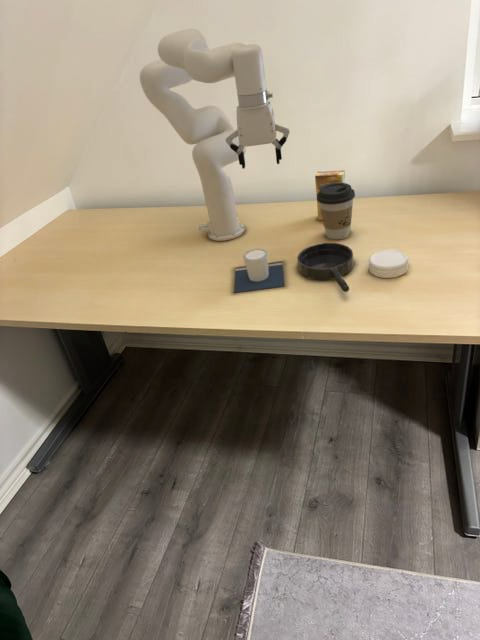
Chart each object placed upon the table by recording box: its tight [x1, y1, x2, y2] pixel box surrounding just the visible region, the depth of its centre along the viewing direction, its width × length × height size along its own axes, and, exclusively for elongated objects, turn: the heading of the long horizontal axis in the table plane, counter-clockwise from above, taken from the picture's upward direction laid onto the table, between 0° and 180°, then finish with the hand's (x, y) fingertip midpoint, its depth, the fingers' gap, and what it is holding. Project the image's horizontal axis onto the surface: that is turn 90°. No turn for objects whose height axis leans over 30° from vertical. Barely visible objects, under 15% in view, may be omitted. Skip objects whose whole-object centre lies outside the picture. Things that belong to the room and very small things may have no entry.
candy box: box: [314, 170, 346, 221], centre depth 162 cm, size 9×4×15 cm, turn 70°
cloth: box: [233, 260, 286, 294], centre depth 142 cm, size 14×14×1 cm
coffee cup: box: [316, 182, 356, 241], centre depth 151 cm, size 11×11×15 cm
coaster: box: [368, 249, 409, 279], centre depth 133 cm, size 10×10×4 cm
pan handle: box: [330, 267, 350, 293], centre depth 128 cm, size 12×2×2 cm, turn 8°
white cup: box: [242, 248, 269, 281], centre depth 140 cm, size 7×7×7 cm
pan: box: [297, 242, 355, 281], centre depth 140 cm, size 15×15×4 cm
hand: (261, 164), depth 139 cm, fingers open, 9 cm apart
